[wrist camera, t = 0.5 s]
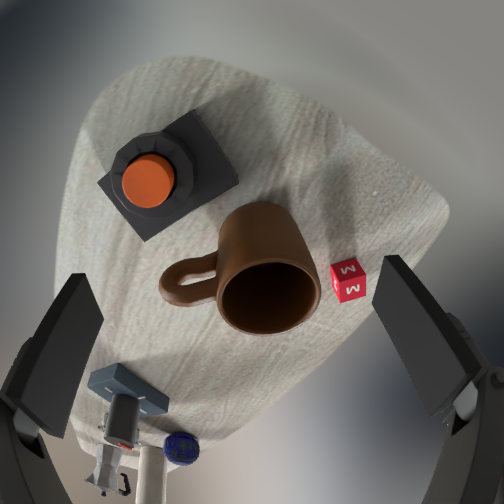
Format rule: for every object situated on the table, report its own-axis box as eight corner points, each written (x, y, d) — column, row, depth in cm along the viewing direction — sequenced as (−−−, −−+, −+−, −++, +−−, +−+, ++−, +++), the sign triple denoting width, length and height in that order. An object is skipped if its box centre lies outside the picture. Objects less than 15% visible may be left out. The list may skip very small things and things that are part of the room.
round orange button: (121, 172, 19) (112, 179, 18) (156, 144, 18) (150, 149, 17) (148, 207, 21) (142, 216, 20) (184, 182, 20) (180, 190, 19)
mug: (179, 271, 29) (163, 340, 21) (168, 202, 25) (140, 260, 17) (294, 266, 29) (315, 334, 21) (300, 198, 25) (331, 253, 17)
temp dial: (106, 396, 38) (97, 438, 31) (124, 391, 36) (115, 437, 29) (128, 409, 40) (121, 450, 33) (147, 405, 39) (141, 449, 32)
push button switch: (101, 169, 22) (82, 183, 19) (189, 101, 20) (181, 103, 17) (150, 231, 26) (139, 253, 23) (238, 175, 24) (239, 191, 21)
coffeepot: (87, 443, 62) (79, 488, 47) (94, 439, 59) (86, 489, 44) (129, 458, 68) (124, 502, 53) (139, 455, 65) (135, 504, 50)
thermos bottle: (146, 453, 63) (141, 532, 39) (136, 444, 59) (129, 531, 35) (171, 455, 63) (169, 537, 39) (163, 447, 59) (159, 537, 35)
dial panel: (89, 373, 39) (84, 388, 36) (120, 361, 37) (115, 378, 34) (137, 405, 45) (135, 419, 42) (171, 397, 43) (170, 412, 40)
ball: (203, 433, 52) (203, 462, 46) (196, 442, 56) (195, 469, 49) (167, 426, 50) (165, 457, 44) (163, 436, 54) (161, 463, 47)
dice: (332, 285, 31) (340, 303, 29) (330, 265, 30) (338, 282, 27) (356, 279, 31) (365, 295, 28) (355, 258, 29) (366, 274, 27)
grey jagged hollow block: (99, 411, 47) (95, 426, 44) (129, 416, 48) (126, 432, 44) (116, 430, 53) (114, 443, 49) (144, 434, 53) (142, 448, 50)
